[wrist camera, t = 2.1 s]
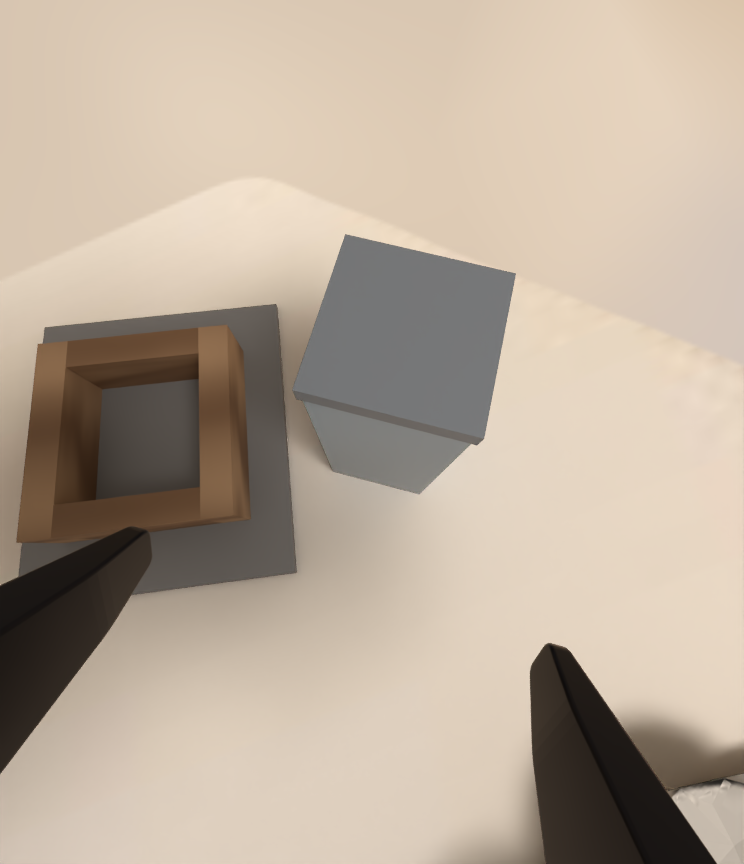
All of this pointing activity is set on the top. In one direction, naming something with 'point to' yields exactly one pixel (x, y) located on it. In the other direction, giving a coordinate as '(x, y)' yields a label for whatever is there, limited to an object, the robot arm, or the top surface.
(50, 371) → the brown square open frame
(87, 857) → the top surface
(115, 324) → the mat
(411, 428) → the tin
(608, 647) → the top surface
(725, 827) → the decorative wall flower
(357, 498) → the top surface
